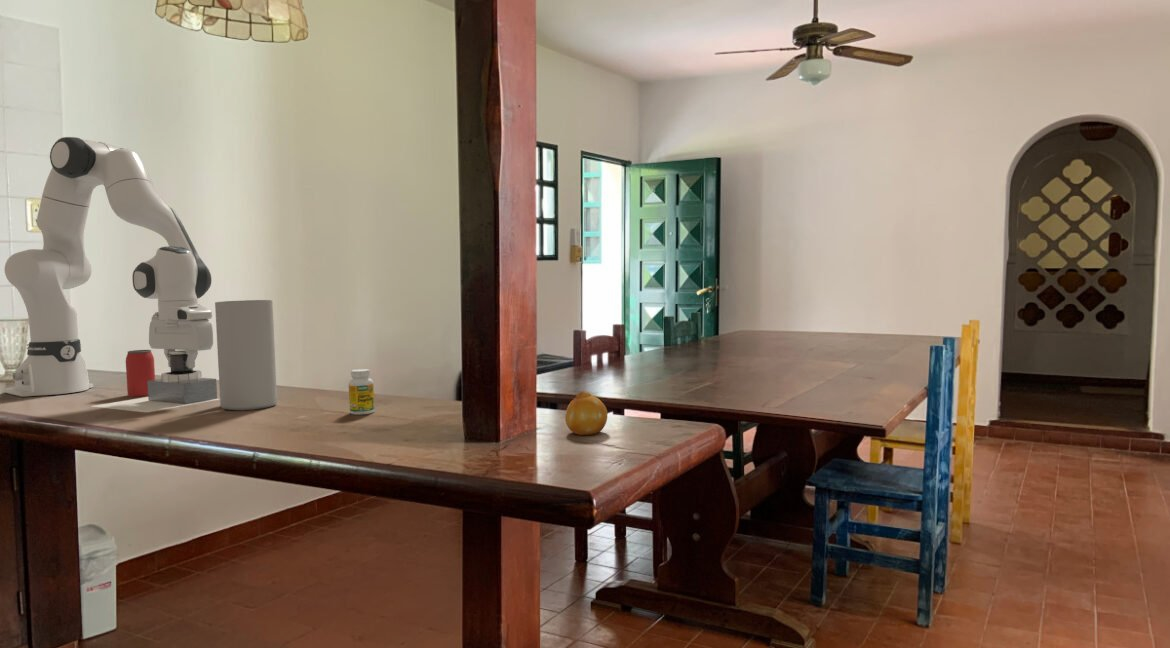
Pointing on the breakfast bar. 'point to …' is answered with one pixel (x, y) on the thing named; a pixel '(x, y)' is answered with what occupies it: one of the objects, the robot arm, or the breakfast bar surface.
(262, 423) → the breakfast bar surface
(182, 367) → the lens
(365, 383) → the supplement bottle
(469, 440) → the breakfast bar surface
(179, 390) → the camera body
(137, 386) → the beer can
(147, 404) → the mat
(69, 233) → the robot arm
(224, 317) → the cylinder vase
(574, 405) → the fruit
